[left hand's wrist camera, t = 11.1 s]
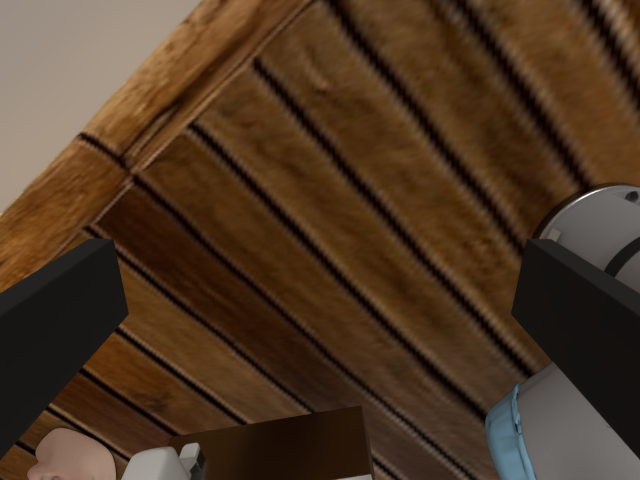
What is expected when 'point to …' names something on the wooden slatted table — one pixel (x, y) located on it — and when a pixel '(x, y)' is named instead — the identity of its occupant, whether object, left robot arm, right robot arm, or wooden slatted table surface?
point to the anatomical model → (72, 458)
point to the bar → (286, 449)
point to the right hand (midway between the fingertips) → (204, 470)
